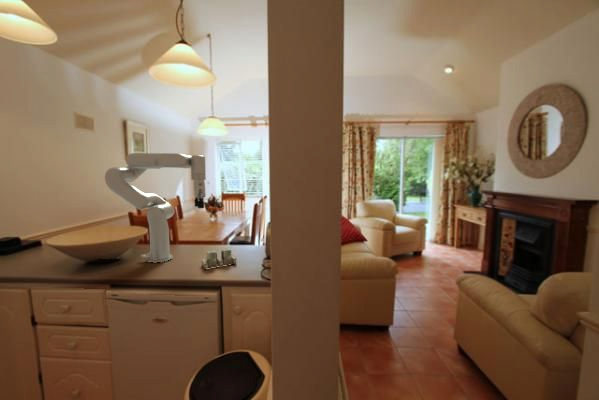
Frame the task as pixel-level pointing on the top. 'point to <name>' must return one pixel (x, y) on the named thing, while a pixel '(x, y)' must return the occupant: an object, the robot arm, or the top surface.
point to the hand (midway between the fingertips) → (199, 207)
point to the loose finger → (211, 258)
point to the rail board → (222, 259)
